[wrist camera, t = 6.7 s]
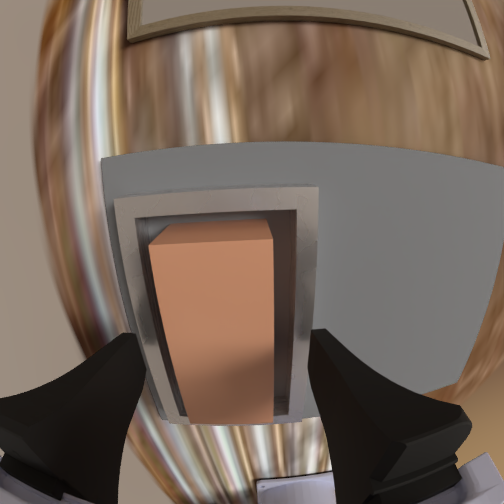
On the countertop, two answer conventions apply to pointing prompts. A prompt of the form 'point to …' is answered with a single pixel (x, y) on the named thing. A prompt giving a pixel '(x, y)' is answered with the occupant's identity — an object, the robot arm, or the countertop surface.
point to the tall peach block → (219, 317)
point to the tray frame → (208, 201)
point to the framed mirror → (317, 17)
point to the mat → (353, 245)
